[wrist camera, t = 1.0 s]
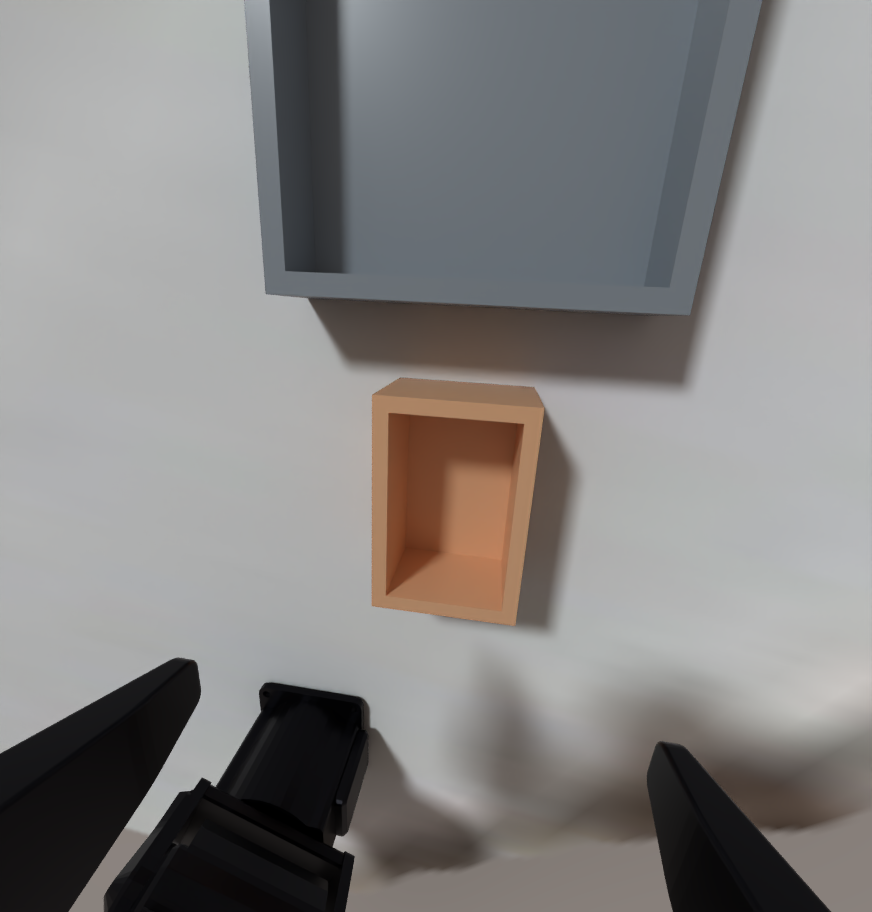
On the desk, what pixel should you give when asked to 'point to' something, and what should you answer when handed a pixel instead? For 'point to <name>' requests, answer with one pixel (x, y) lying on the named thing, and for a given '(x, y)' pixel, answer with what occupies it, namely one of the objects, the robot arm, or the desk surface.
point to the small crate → (452, 496)
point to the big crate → (493, 148)
